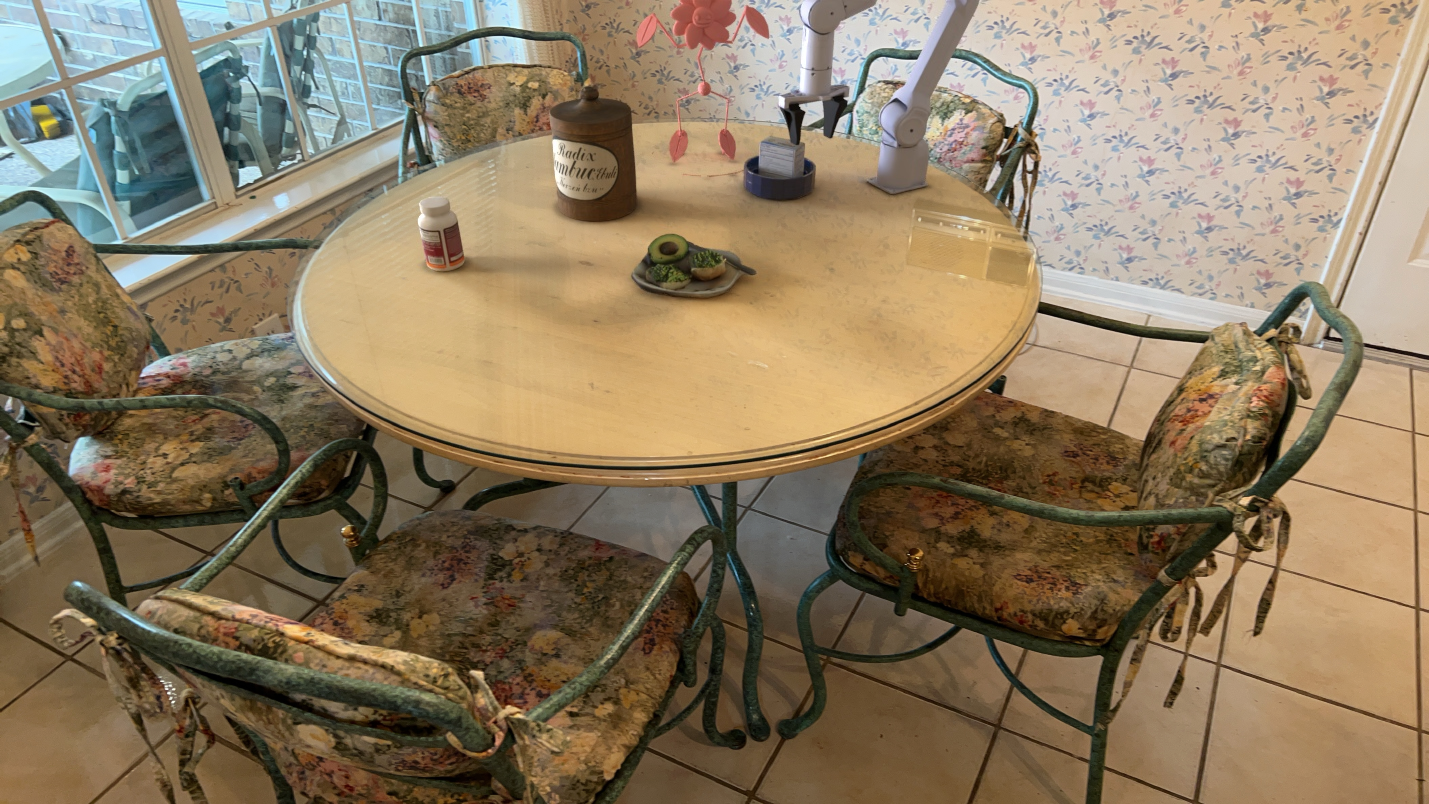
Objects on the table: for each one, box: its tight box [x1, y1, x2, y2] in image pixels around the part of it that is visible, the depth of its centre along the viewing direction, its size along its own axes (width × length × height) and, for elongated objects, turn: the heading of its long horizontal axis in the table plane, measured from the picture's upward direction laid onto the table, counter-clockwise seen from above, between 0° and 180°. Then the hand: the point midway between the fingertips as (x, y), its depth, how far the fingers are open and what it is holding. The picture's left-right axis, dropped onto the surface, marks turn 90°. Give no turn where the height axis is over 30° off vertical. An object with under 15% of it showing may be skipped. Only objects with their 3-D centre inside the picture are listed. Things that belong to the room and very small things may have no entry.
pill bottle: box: [417, 195, 465, 272], centre depth 147 cm, size 6×6×11 cm
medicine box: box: [758, 135, 806, 179], centre depth 176 cm, size 8×4×9 cm, turn 59°
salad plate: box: [630, 233, 758, 299], centre depth 146 cm, size 19×18×5 cm
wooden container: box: [548, 86, 638, 222], centre depth 164 cm, size 15×15×22 cm
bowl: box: [742, 154, 817, 201], centre depth 177 cm, size 14×14×4 cm
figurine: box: [636, 0, 770, 178], centre depth 178 cm, size 15×26×35 cm, turn 94°
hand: (811, 140), depth 171 cm, fingers open, 7 cm apart
